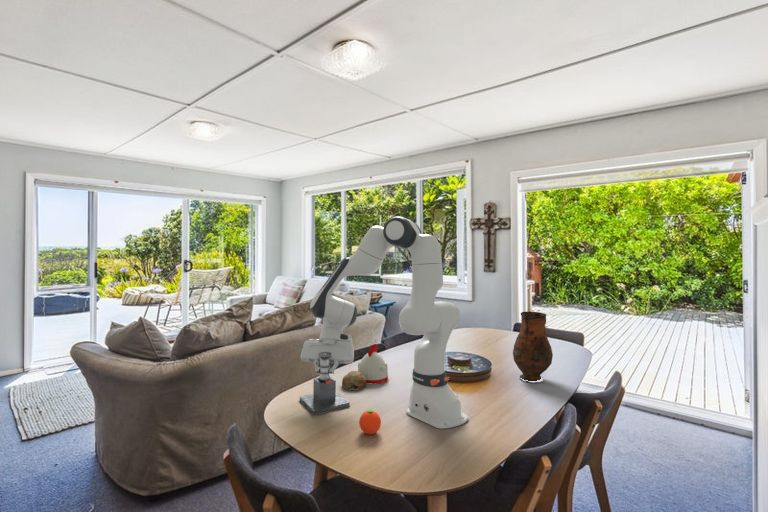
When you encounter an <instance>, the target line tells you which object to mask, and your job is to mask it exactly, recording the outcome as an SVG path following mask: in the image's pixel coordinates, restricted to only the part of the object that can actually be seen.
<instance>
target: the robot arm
mask: <svg viewBox="0 0 768 512" xmlns="http://www.w3.org/2000/svg"><path fill="white" fill-rule="evenodd" d="M394 247H395V248H399V249H406V250H408V251H409V253H410V258H411V273H412V274H411V281H412V284H411V292H410V296H409V298H408V301H407V302H406V305H405V306H404V307H403V308H402V309H401V310H400V312H399V315H398V324H399V326H400V329H401V330H402V331H403V332H404V333H405V334H407V335H412V336H421V335H423V336H422V338H421V340H420V341H419V343H417V345H416V346H415V348H414V352H413V353H414V356H413V358H414V360H413V368H412V373H411V375H412V381H413V383H412V386H411V388H410V393H409V401H408V402H409V403H408V408H407V409H406V415H408V416H411V417H413V418H414V419H417V420H419V421H421V422H423V423H426V424H428V425H430V426H432V427H433V428H436V429H450V428H455V427H458V426H461V425H464V424H465V423H467V422H468V420H469V416H468V415H467V414H466V413H464V411H462V406H461V405H462V404H461V401H460V399H459V396H458V395H457V394H456V393H455V392H454V391H453V389H452V388H451V386H450V385H449V384H448V381H449V380H451V379H449V378H450V376H447V374H446V370H445V364H446V363H445V361H446V350H447V345H448V343H449V340H450V337H451V334H452V333H453V331H454V329H455V328H456V327H457V326H458V325H459V323H460V321H461V313H460V310H459V308H458V306H457V305H456V304H455V303H453V302H449V301H445V300H441V301H440V300H439V301H436V300H435V299H436V296H437V294H438V291H440V290H441V289H442V288H443V285H444V274H443V261H442V260H443V259H442V253H441V252H442V251H441V248H440V244H439V241H438V239H437V237H436V236H434V235H432V234H428V233H424V234H423V233H422V230H421V228H420V227H419V225H418V224H416V223H415V222H413V221H412V220H411V219H408V218H406V217H403V216H393V217H391V218H389V219H388V220H387V221H386V222H385V223H384V226H380V225H373V226H371V227H370V228H369V229H368V230H367V232H366V233H365V234H364V236H363V237H362V239H361V241H360V243H359V245H358V247H357V249H356V250H355V252H354V253H353V254H351V255H350V256H348V257H344V258H343V259H342V260H341V261H340V262H339V263H338V264H337V266H336V267H335V268H334V270H333V271H332V273H331V274H330V276H329V277H328V278H327V279H326V281H325V283H324V284H323V285H322V287H321V288H320V289H319V291H318V292H317V293H316V294H315V295H314V297H313V298H312V300H311V302H310V305H309V310H310V312H311V314H312V315H313V317H314V318H318V319H321V320H322V328H321V330H320V334H319V338H308V339H306V340H304V342H303V345H302V350H301V353H300V359H301V361H302V362H304V363H313V364H314V366H315V369H314V373H315V374H320V373H319V370H320V367H319V364H320V357H319V353H321V352H330V353H331V357H330V364H333V366H332V367H331V366H330V367H329V374H331V375H333V374H335V370H336V369H337V367H338V366H339V364H343V365H345V364H346V365H352V364H353V363H354V359H355V351H354V346H353V345H354V344H353V338H352V336H351V335H349V334H345V333H343V330H344V329H348V328H350V327H351V326H353V325H354V324H355V323H356V321H357V316H358V308H357V306H356V304H355V303H353V302H351V301H349V300H346V299H344V298H343V299H342V298H340V297H337V296H335V295H333V293H334V291H335V290H336V289H337V287H338V286H339V285H340V283H341V282H342V281H343V280H344V279H345V278H346V277H352V276H363V277H364V276H369V275H372V274H375V273H377V272H378V270H379V269H380V268H381V266H382V264H383V262H384V260H385V258H386V256H387V253H388V252H389V251H390V249H392V248H394Z"/></svg>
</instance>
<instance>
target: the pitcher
mask: <svg viewBox="0 0 768 512" xmlns="http://www.w3.org/2000/svg"><path fill="white" fill-rule="evenodd" d="M520 317H521V320H520V321H521V324H520V330H519V332H518V334H517V336H516V339H515V341H514V344H513V348H512V356H513V361H514V363H515V365H516V367H517V368H518V370H520V372H521V373H522V374H520V375H519V377H520V378H522V379H524V380H528V381H537V380H540V379H541V377H542V376H541V375H542V374H543V373H545V372H546V371H547V370H548V369H549V368H550V367H551V365H552V363H553V356H554V355H553V348H552V346H551V343H550V341H549V339H548V336H547V333H546V331H547V330H546V323H547V313H544V312H539V311H538V312H537V311H522V312H520ZM520 378H519V379H520Z"/></svg>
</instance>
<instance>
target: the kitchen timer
mask: <svg viewBox="0 0 768 512" xmlns="http://www.w3.org/2000/svg"><path fill="white" fill-rule="evenodd" d="M378 347H379V346H378V345H377V343H374V344H371V345H370V348H369V351H368V352H367V353H366V354H364V356H363V357H362V359H361V360H360V362H358V364H357V371H358V372H360V373H361V374H362V375H363V376H364V377H365V379H366V384H367V383H372V384H371V385H376V384H375V383H378V384H382V382H383V383H385V382H387V381H388V380H389V372H388V370H389V369H388V368H389V367H388V363H387V362H385V360H384V358H383V357H382V356H381V354H379V353H378Z"/></svg>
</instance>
